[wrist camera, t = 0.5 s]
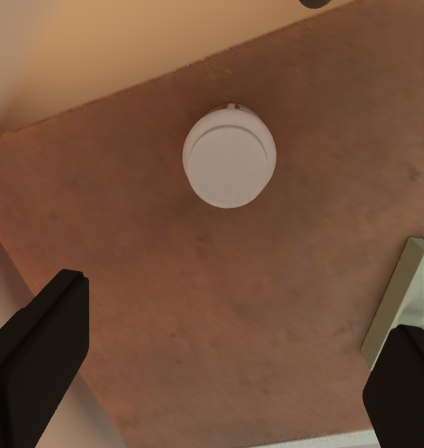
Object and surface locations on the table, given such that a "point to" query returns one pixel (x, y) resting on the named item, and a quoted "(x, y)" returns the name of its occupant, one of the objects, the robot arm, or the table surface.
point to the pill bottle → (229, 156)
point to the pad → (399, 300)
